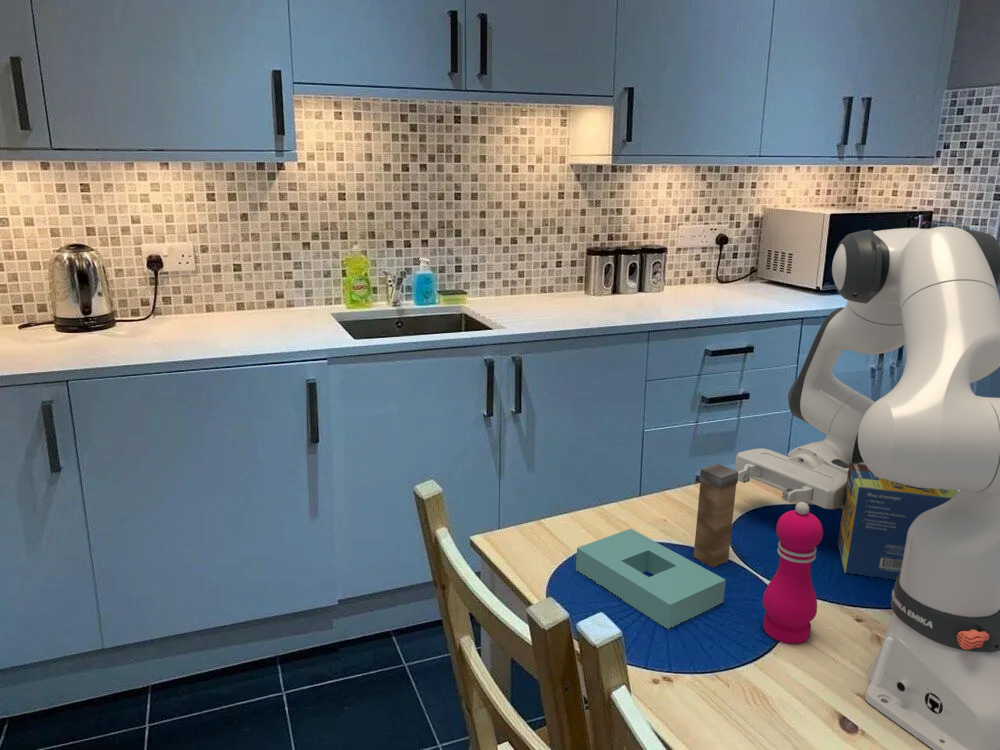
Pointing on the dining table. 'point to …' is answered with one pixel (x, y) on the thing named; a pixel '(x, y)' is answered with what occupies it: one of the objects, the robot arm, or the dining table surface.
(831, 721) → the dining table surface
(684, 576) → the post foot
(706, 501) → the peg
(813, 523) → the pepper mill
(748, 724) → the dining table surface
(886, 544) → the protein box
